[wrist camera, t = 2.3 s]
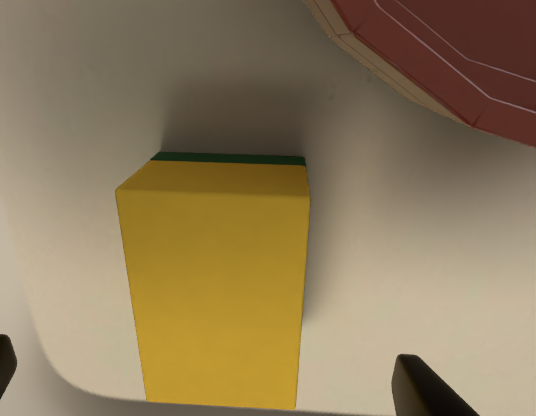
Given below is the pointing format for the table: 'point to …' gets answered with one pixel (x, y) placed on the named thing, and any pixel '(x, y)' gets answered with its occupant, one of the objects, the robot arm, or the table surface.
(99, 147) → the table surface
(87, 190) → the table surface
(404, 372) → the robot arm
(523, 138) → the wash bowl
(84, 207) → the table surface
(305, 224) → the sponge
